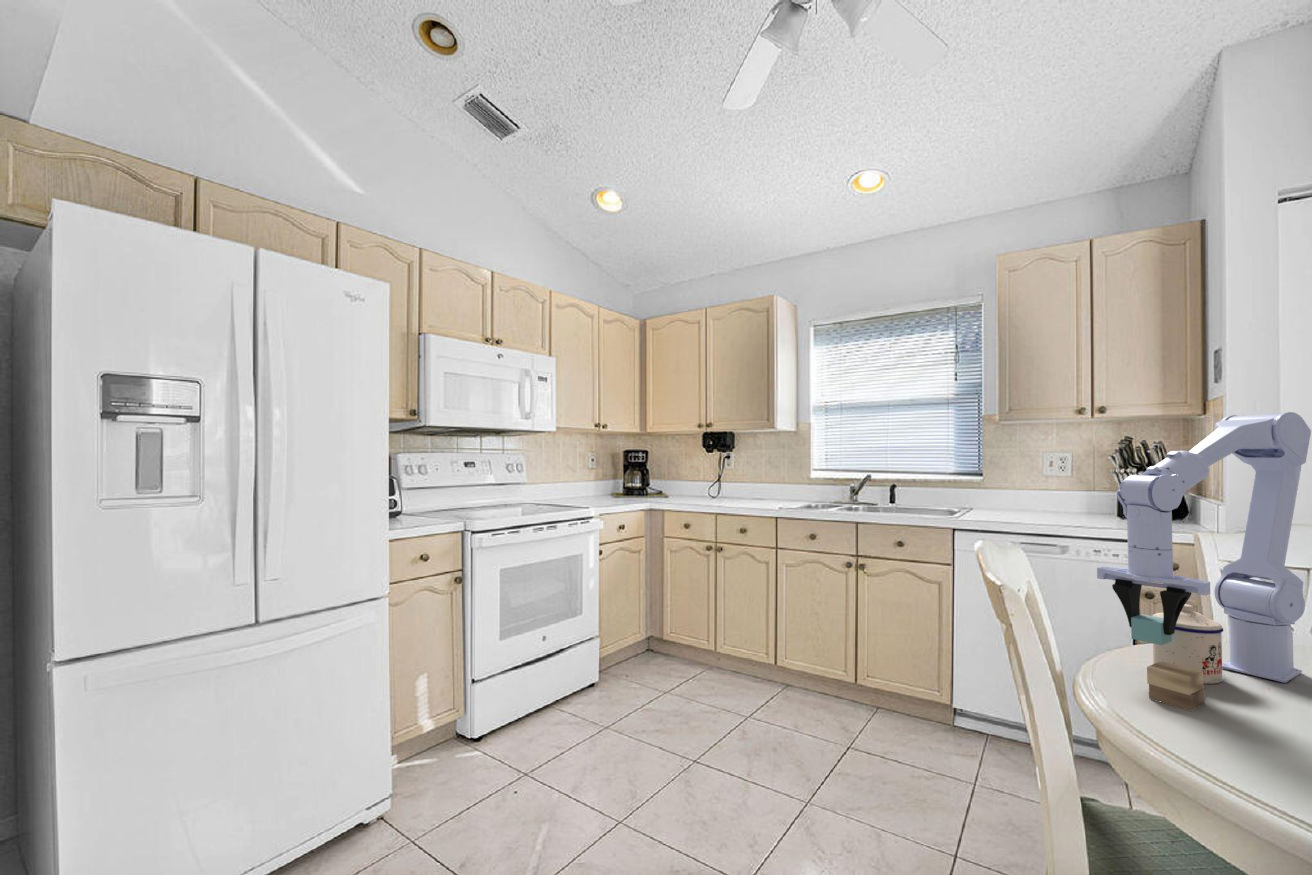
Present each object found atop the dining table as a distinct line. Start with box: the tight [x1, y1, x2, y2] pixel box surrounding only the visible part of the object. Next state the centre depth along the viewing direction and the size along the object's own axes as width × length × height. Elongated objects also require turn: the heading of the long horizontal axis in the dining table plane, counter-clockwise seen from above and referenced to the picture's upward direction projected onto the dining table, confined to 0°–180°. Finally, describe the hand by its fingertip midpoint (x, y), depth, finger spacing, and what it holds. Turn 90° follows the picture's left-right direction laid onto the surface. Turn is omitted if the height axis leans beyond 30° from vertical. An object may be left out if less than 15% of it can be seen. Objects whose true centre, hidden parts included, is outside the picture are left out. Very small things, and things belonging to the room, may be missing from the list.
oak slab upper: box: [1146, 661, 1204, 695], centre depth 89 cm, size 5×5×2 cm
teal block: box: [1130, 613, 1172, 645], centre depth 97 cm, size 4×4×4 cm
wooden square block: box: [1148, 684, 1206, 712], centre depth 89 cm, size 5×5×2 cm
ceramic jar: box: [1152, 603, 1224, 685], centre depth 100 cm, size 12×9×12 cm
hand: (1151, 630), depth 97 cm, fingers closed on teal block, 4 cm apart
